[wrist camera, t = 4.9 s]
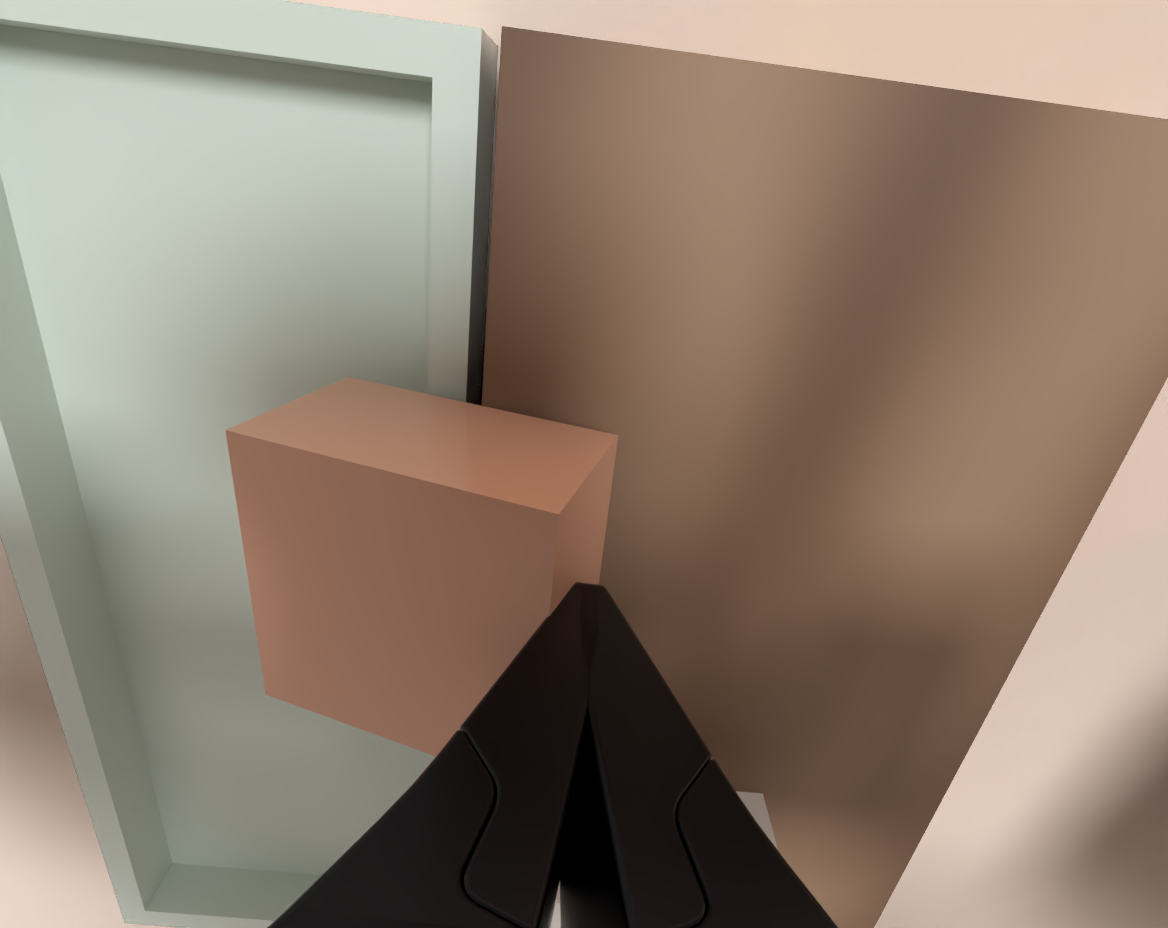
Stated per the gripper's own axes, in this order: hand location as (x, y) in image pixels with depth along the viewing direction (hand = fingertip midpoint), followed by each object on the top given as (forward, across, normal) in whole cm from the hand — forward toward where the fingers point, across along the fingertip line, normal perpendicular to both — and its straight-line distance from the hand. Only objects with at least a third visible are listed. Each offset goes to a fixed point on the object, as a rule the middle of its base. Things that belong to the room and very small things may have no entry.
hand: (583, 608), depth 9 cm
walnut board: (+4, -3, +3) cm, 6 cm away
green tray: (+4, +6, +3) cm, 8 cm away
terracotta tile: (+2, +2, 0) cm, 3 cm away
